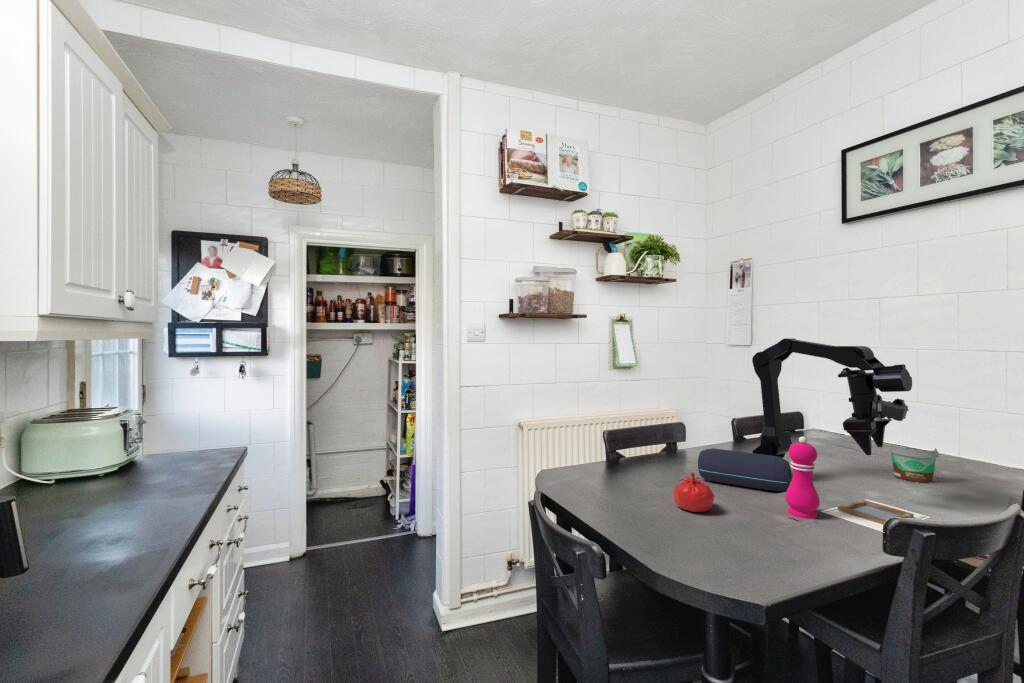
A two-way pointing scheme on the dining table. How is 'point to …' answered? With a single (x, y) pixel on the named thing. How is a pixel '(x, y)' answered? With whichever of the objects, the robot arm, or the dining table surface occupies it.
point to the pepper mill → (802, 481)
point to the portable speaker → (745, 469)
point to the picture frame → (872, 512)
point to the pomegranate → (693, 495)
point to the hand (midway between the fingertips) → (874, 451)
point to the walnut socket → (848, 507)
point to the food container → (913, 464)
